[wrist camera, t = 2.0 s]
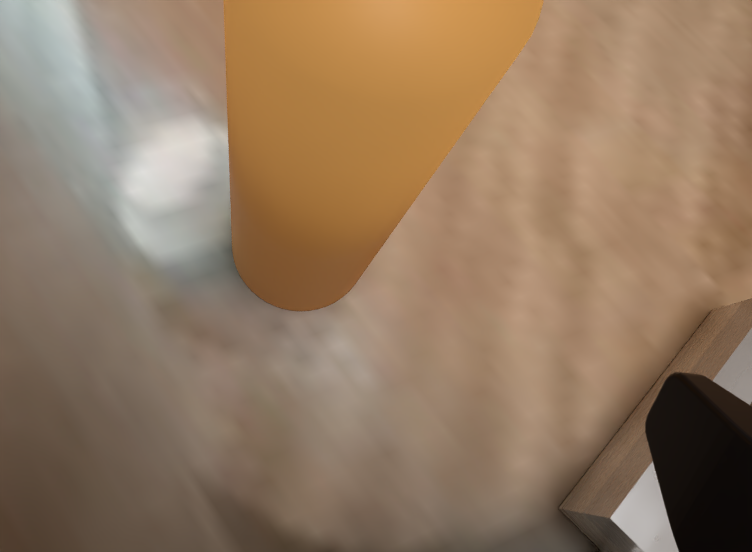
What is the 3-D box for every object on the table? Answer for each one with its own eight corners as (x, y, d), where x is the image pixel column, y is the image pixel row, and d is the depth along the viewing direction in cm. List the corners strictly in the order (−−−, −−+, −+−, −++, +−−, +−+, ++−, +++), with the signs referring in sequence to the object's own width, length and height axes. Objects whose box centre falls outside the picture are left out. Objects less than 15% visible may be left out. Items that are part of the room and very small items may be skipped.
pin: (300, 339, 20) (397, 169, 8) (203, 242, 20) (146, -76, 8) (393, 247, 21) (605, -27, 9) (300, 156, 22) (383, -237, 9)
